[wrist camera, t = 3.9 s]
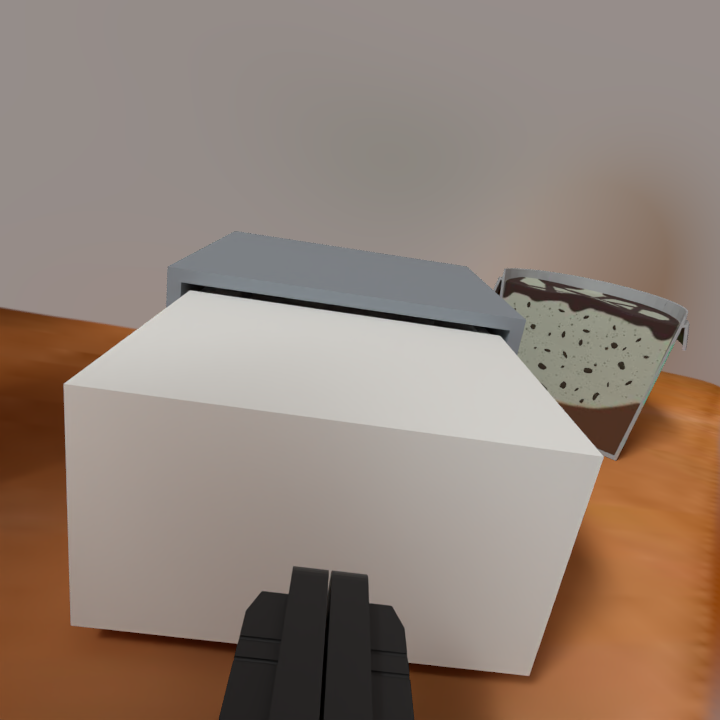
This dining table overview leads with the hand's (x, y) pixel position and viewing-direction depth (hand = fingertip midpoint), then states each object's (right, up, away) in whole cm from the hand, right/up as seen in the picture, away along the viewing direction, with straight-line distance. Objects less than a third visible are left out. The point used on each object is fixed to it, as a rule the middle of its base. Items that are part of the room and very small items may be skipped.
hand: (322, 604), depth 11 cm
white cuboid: (-1, 0, +17) cm, 17 cm away
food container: (+15, 0, +29) cm, 33 cm away
